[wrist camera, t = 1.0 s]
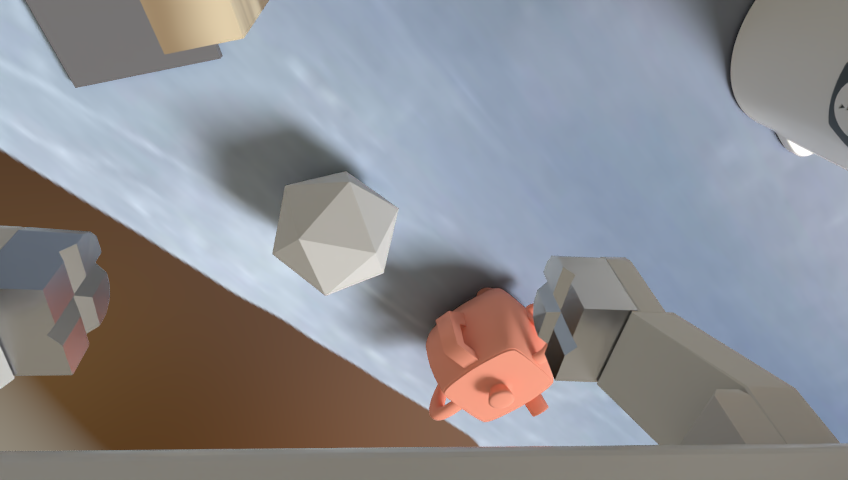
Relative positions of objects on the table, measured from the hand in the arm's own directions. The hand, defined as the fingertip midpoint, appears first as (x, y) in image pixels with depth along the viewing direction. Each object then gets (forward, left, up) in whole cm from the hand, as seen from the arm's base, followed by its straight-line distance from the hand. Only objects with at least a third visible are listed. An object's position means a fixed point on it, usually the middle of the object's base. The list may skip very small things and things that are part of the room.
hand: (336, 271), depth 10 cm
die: (+6, +16, -30) cm, 34 cm away
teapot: (-4, +33, -30) cm, 45 cm away
